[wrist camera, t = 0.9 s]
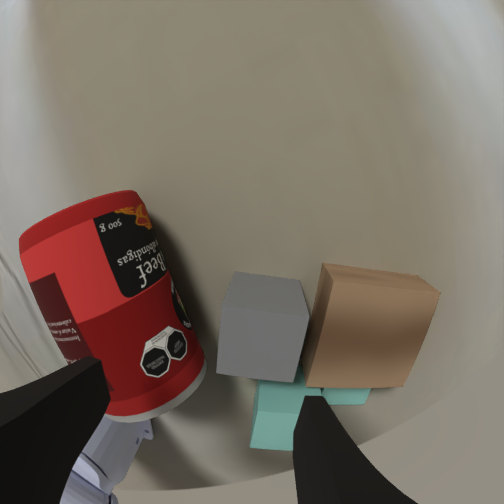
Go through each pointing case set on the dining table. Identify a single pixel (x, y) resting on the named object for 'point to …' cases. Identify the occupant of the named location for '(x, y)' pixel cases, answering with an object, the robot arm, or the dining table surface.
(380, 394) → the dining table surface
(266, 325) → the grey block
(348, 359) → the walnut base
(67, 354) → the canned food
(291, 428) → the teal block
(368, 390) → the swatch
